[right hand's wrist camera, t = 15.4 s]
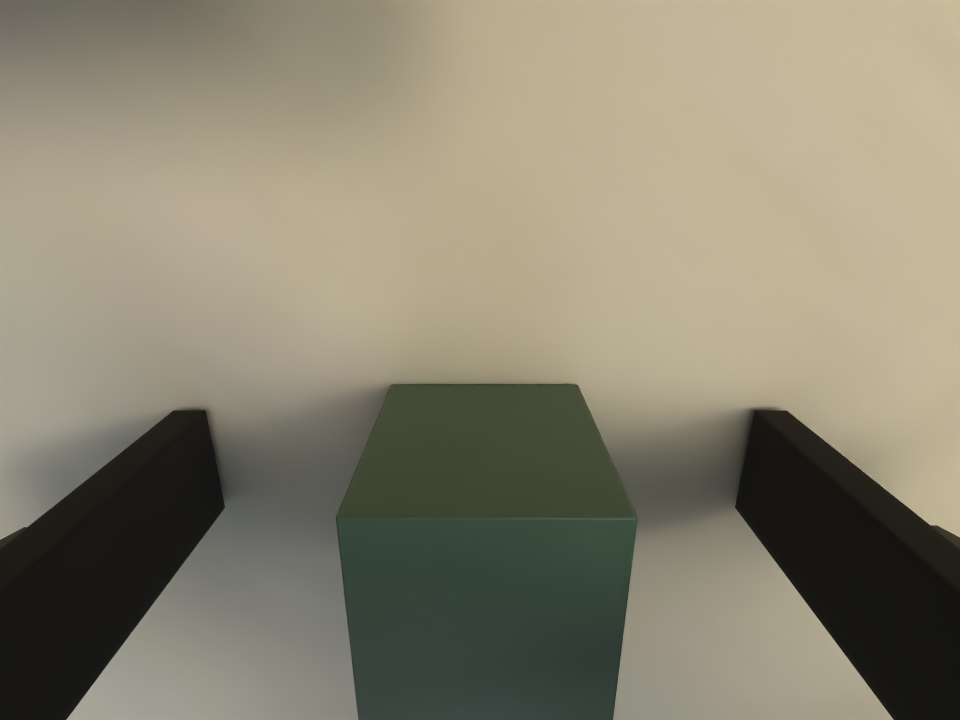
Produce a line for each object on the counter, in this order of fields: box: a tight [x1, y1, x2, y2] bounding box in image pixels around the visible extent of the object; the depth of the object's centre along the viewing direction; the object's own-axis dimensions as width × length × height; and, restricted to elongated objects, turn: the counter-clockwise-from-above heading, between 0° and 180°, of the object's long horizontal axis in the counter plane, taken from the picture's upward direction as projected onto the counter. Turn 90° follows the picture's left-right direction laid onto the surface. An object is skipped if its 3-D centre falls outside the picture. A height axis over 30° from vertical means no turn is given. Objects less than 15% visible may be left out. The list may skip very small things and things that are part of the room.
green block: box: [336, 385, 637, 720], centre depth 11 cm, size 4×4×5 cm
